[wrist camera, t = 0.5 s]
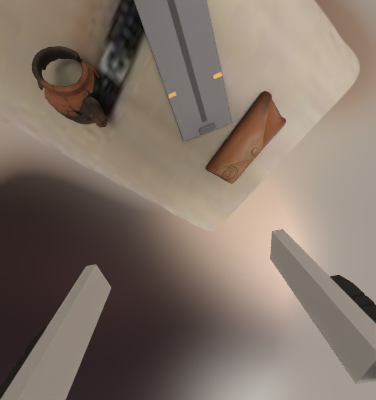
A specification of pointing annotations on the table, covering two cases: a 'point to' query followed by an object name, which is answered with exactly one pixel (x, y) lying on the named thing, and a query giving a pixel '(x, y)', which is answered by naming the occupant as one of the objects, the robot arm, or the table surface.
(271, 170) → the table surface
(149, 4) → the grey slotted slider track
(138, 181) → the table surface
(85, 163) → the table surface
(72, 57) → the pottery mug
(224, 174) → the sunglasses case
